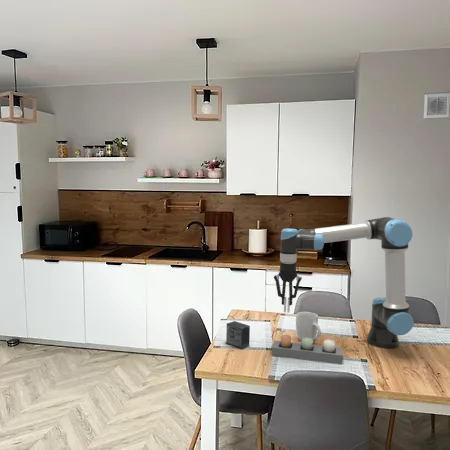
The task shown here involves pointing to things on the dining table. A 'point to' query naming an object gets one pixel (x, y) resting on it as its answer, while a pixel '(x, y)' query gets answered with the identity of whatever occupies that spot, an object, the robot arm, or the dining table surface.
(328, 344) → the key ivory
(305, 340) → the key sage
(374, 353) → the dining table surface
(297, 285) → the robot arm
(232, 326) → the small box
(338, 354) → the grey long block
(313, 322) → the mug
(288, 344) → the key terracotta
